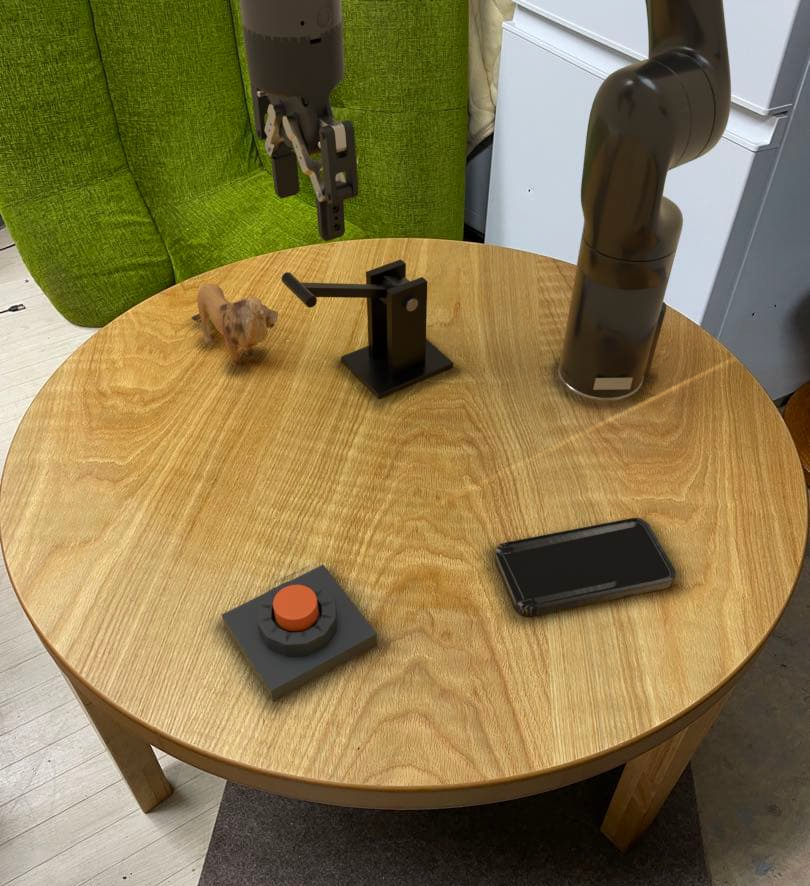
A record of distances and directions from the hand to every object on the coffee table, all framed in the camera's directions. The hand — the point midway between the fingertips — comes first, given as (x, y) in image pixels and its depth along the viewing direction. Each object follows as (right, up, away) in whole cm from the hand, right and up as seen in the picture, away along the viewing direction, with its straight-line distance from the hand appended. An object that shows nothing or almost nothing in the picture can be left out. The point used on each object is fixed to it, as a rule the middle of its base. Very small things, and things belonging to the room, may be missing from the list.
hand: (309, 215), depth 77 cm
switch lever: (+3, -5, +11) cm, 12 cm away
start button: (0, -35, -5) cm, 36 cm away
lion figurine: (-11, -7, +23) cm, 27 cm away
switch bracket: (+8, -9, +21) cm, 24 cm away
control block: (0, -37, -3) cm, 37 cm away
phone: (+25, -32, +2) cm, 40 cm away
